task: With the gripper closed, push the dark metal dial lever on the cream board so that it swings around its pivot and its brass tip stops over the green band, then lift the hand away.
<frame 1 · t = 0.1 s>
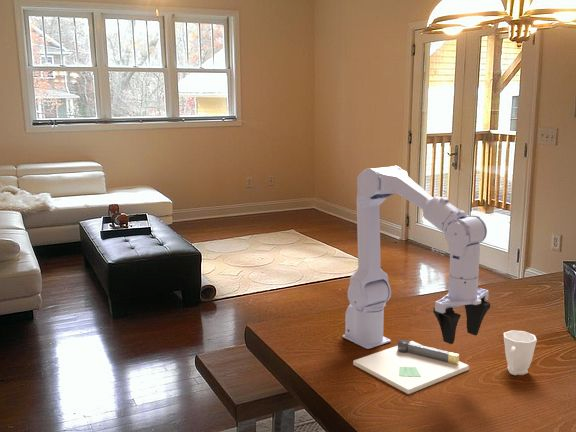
hand: (460, 338, 121), 10 cm above the table, tool pointing down, fingers open, 7 cm apart
lever: (427, 351, 133), point 2 cm above the table, hinge at 20.0°
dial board: (410, 367, 130), on the table
cup: (515, 373, 127), on the table
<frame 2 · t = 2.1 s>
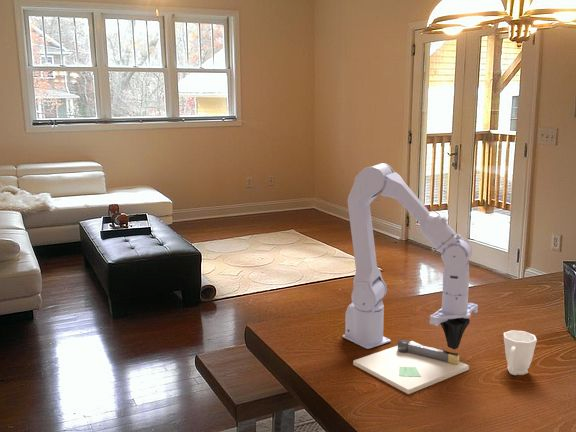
hand: (452, 347, 136), 2 cm above the table, tool pointing down, fingers closed
nothing on the table moved.
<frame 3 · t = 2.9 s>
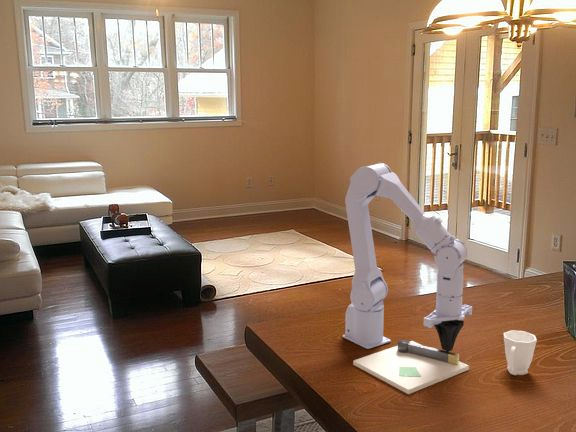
hand: (446, 349, 135), 2 cm above the table, tool pointing down, fingers closed
nothing on the table moved.
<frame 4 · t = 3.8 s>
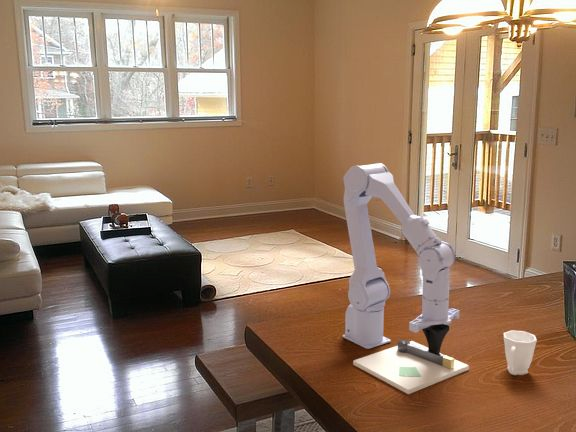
hand: (433, 354, 132), 2 cm above the table, tool pointing down, fingers closed, pressing on lever
lever: (424, 353, 132), point 2 cm above the table, hinge at 7.7°, touching gripper
everything else where it was.
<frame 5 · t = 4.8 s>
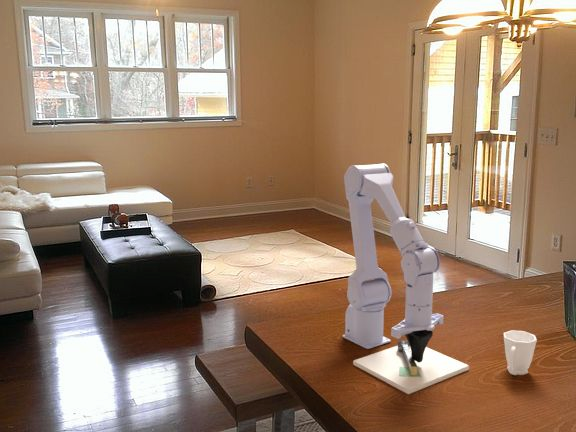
hand: (416, 360, 129), 2 cm above the table, tool pointing down, fingers closed, pressing on lever
lever: (408, 356, 131), point 2 cm above the table, hinge at -36.2°, touching gripper
everything else where it was.
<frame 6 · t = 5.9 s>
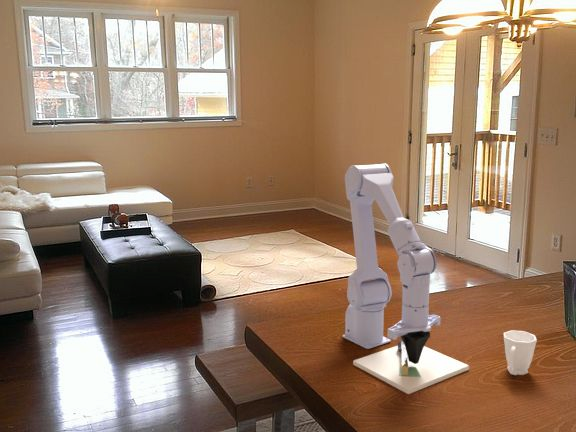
hand: (413, 361, 128), 2 cm above the table, tool pointing down, fingers closed
lever: (404, 356, 131), point 2 cm above the table, hinge at -44.9°, touching gripper
everything else where it was.
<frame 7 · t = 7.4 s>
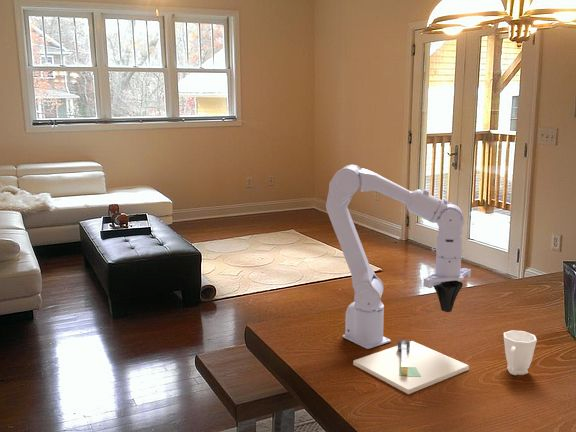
hand: (446, 310, 139), 9 cm above the table, tool pointing down, fingers closed
lever: (404, 356, 131), point 2 cm above the table, hinge at -45.0°
everything else where it was.
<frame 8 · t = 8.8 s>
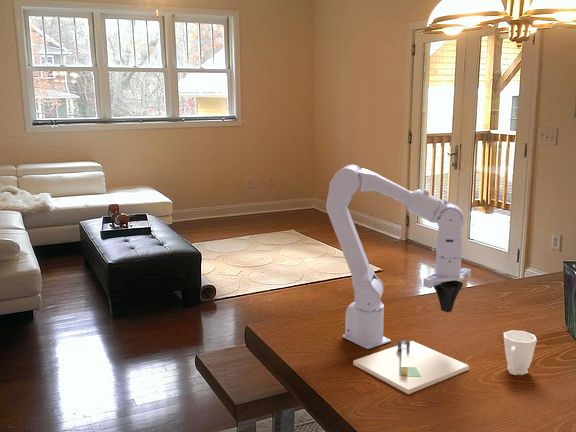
hand: (446, 310, 139), 9 cm above the table, tool pointing down, fingers closed
nothing on the table moved.
at the end: lever at -45° (first picture: +20°) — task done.
